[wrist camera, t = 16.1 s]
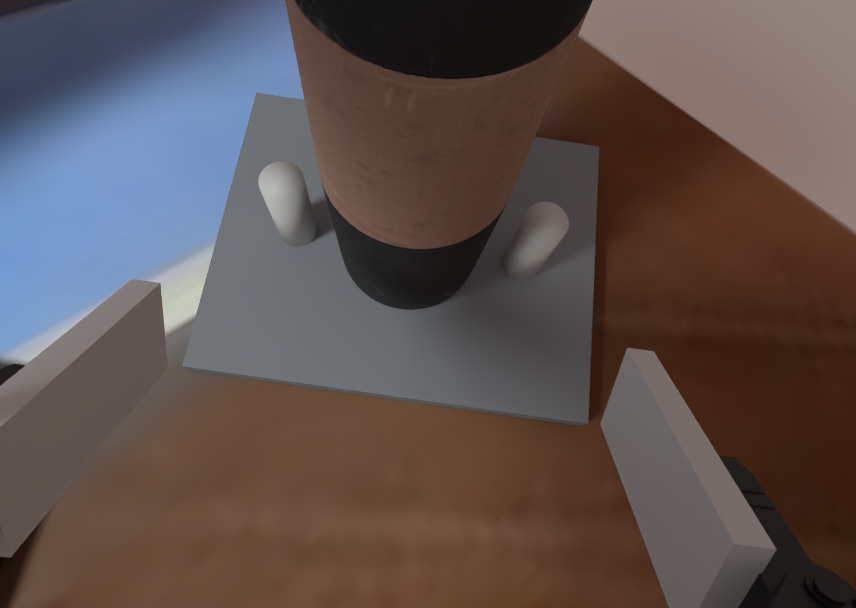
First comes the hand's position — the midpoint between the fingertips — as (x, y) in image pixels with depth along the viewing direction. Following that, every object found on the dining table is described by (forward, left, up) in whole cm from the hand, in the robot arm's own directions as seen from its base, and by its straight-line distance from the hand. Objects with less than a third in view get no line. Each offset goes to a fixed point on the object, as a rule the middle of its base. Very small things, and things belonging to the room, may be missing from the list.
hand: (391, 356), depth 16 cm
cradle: (-6, +6, -13) cm, 15 cm away
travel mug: (-6, +6, -12) cm, 15 cm away
